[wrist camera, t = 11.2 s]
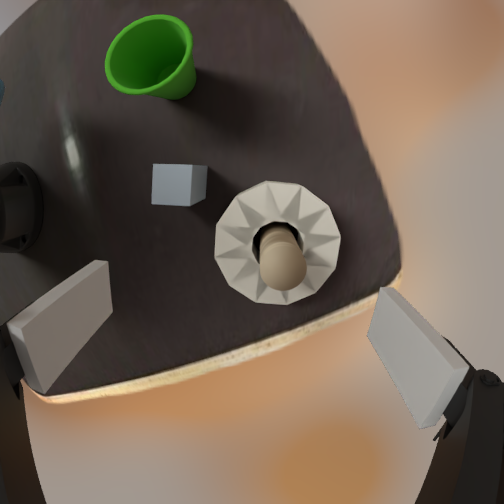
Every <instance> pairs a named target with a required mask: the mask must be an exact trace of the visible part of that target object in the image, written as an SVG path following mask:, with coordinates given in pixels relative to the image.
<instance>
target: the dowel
mask: <svg viewBox="0 0 504 504" xmlns="http://www.w3.org/2000/svg"><path fill="white" fill-rule="evenodd" d="M306 272H307V264H306V260H305V258H304V256H303V254H302V252H301V250H300V248H299V246H298V244H297V242H296V240H295V238H294V236H293V234H292V232H291V230H290V228H289V227H288V226H287V225H286V224H284V223H282V222H278V221H274V222H270V223H268V224H267V225H265V226H264V227H263V229H262V231H261V233H260V274H261V277H262V279H263V281H264V282H265V284H266V285H268V286H269V287H270V288H272V289H275V290H279V291H287V290H291V289H293V288H295V287H297V286H298V285H299V284H300V283H301V282H302V281H303V280H304V278H305V275H306Z"/></svg>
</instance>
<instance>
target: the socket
mask: <svg viewBox="0 0 504 504" xmlns="http://www.w3.org/2000/svg"><path fill="white" fill-rule="evenodd" d="M273 221H279V222H288V223H289V224H291V225H292V226H293V227H295V228H296V229H297V231H298V240H297V244H298V246H299V248H300V250H301V252H302V254H303V256H304V258H305V260H306V264H307V272H306V275H305V278H304V280H303V281H302V282H301V283H300V284H299V285H298V286H297V287H295V288H293V289H291V290H287V291H279V290H275V289H272V288H270V287H269V286H268V285H266V284H265V282H264V281H263V279H262V277H261V274H260V252H259V251H258V250H257V248H256V245H255V243H254V241H253V237H254V236H255V234H256V233H257V232H258V230H259V229H260V227H262V226H264V225H266V224H268V223H270V222H273ZM340 239H341V236H340V233H339V231H338V228H337V225H336V223H335V220H334V218H333V215H332V213H331V210H330V208H329V206H328V205H327V204H325V203H324V202H323V201H321V200H320V199H319V198H318V197H316V196H315V195H314V194H312V193H311V192H310V191H308V190H307V189H306V188H304V187H303V186H301V185H298V184H294V183H285V182H275V181H264V182H262V183H260V184H258V185H256V186H253V187H251V188H249V189H247V190H245V191H243V192H240V193H239V194H238V195H237V196H236V197H235V198H234V199H233V201H232V202H231V204H230V205H229V207H228V208H227V210H226V211H225V213H224V214H223V215H222V217H221V218H220V220H219V221H218V223H217V224H216V237H215V256H214V257H215V259H216V261H217V263H218V265H219V267H220V269H221V271H222V273H223V275H224V277H225V279H226V280H227V282H228V284H229V286H231V287H232V288H234V289H235V290H237V291H238V292H240V293H242V294H243V295H245V296H246V297H248V298H249V299H251V300H252V301H254V302H256V303H268V304H281V305H288V304H290V303H293V302H295V301H298V300H300V299H302V298H305V297H307V296H309V295H312V294H314V293H316V292H317V291H318V289H319V288H320V287H321V286H322V285H323V283H324V282H325V281H326V280H327V278H328V277H329V276H330V275H331V273H332V272H333V271H334V270H335V268H336V263H337V257H338V251H339V245H340Z"/></svg>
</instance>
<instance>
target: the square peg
mask: <svg viewBox="0 0 504 504" xmlns="http://www.w3.org/2000/svg"><path fill="white" fill-rule="evenodd" d="M207 169H208V166H201V165H182V164H153V179H152V204H160V205H177V206H191V205H193V204H195V203H197V202H199V201H201V200H203V199H205V198H206V183H207Z"/></svg>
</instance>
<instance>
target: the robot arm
mask: <svg viewBox="0 0 504 504" xmlns="http://www.w3.org/2000/svg"><path fill="white" fill-rule="evenodd" d="M4 90H5V87H4V83H3V81H2V80H1V79H0V105H1V101H2V98H3V95H4ZM42 219H43V200H42V194H41V189H40V186H39V183H38V180H37V178H36V176H35V174H34V173H33V171H32V170H31V169H30V168H29V167H28V166H27V165H26V164H24V163H21V162H9V163H5V164H2V165H0V252H1V253H17V252H20V251H22V250H25V249H27V248H29V247H30V246H31V245H32V244H33V243H34V242H35V241H36V239H37V237H38V235H39V232H40V229H41V225H42ZM112 312H113V309H112V300H111V290H110V279H109V266H108V261H101V260H94V261H93V262H91V263H90V264H88V265H87V266H85V267H84V268H82V269H81V270H79V271H78V272H76V273H75V274H73V275H72V276H70V277H69V278H67V279H66V280H64V281H63V282H62V283H60V284H59V285H57V286H56V287H54V288H53V289H52V290H50V291H49V292H47V293H46V294H45V295H43V296H42V297H40V298H39V299H38V300H36V301H34V302H32V303H30V304H29V305H28V306H26V307H25V309H22V310H21V311H20V312H19V313H17V314H16V315H14V316H13V317H12V318H10V319H9V320H8V321H7V322H5V323H4V324H3V325H2V326H0V504H46V501H45V498H44V495H43V491H42V489H41V485H40V481H39V478H38V474H37V470H36V466H35V463H34V458H33V454H32V449H31V444H30V439H29V433H28V427H27V420H26V413H25V404H24V395H23V387H22V384H21V382H20V380H21V379H22V378H23V377H24V375H25V377H26V380H27V382H28V384H29V386H30V388H32V389H34V390H36V391H39V392H41V393H43V394H45V393H46V391H47V390H48V389H49V388H50V386H51V385H52V384H53V383H54V381H55V380H56V379H57V377H58V376H59V375H60V374H61V372H62V371H63V370H64V369H65V368H66V366H67V365H68V364H69V363H70V361H71V360H72V359H73V358H74V357H75V355H76V354H77V353H78V352H79V351H80V349H81V348H82V347H83V346H84V345H85V343H86V342H87V341H88V340H89V339H90V338H91V336H92V335H93V334H94V333H95V332H96V331H97V329H98V328H99V327H100V326H101V325H102V324H103V323H104V321H105V320H106V319H107V318H108V317H109V316H110V315H111V314H112ZM367 337H368V338H369V340H370V342H371V344H372V345H373V347H374V348H375V350H376V352H377V354H378V355H379V357H380V359H381V361H382V362H383V364H384V366H385V368H386V369H387V371H388V373H389V375H390V376H391V378H392V380H393V382H394V383H395V385H396V387H397V389H398V390H399V392H400V394H401V396H402V398H403V400H404V401H405V403H406V405H407V407H408V409H409V410H410V412H411V414H412V416H413V418H414V420H415V422H416V423H417V426H418V427H419V429H422V428H427V427H431V426H435V425H436V423H437V422H438V420H439V419H440V417H441V416H442V414H444V416H445V418H446V419H447V420H446V422H445V423H444V425H443V426H442V428H441V429H440V430H439V432H438V433H437V435H436V436H435V437H434V439H433V441H436V439H437V438H438V437H439V440H438V443H437V447H436V450H435V453H434V456H433V459H432V462H431V465H430V467H429V470H428V473H427V475H426V478H425V481H424V483H423V486H422V488H421V491H420V493H419V495H418V498H417V500H416V502H415V504H504V383H502V382H501V380H500V378H499V377H498V376H497V375H496V374H494V373H493V372H490V371H489V370H484V369H482V370H477V371H476V369H474V367H473V366H472V365H471V364H470V363H469V362H468V361H467V360H466V359H465V357H464V356H463V355H462V354H460V352H459V351H458V350H457V349H456V348H455V347H454V346H453V344H452V343H451V342H450V341H449V340H448V339H446V338H444V337H443V336H441V335H440V334H439V333H438V332H437V331H436V330H435V329H434V328H433V327H432V326H431V324H430V323H429V322H428V321H427V320H426V319H424V317H423V316H422V315H421V314H420V313H419V312H418V311H417V310H416V309H415V308H414V307H413V306H412V305H411V304H410V303H409V302H408V301H407V300H406V299H405V298H404V297H403V296H402V295H401V294H400V293H399V292H397V291H396V290H395V289H394V288H388V287H380V291H379V295H378V299H377V302H376V306H375V310H374V314H373V317H372V320H371V324H370V327H369V331H368V334H367Z"/></svg>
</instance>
